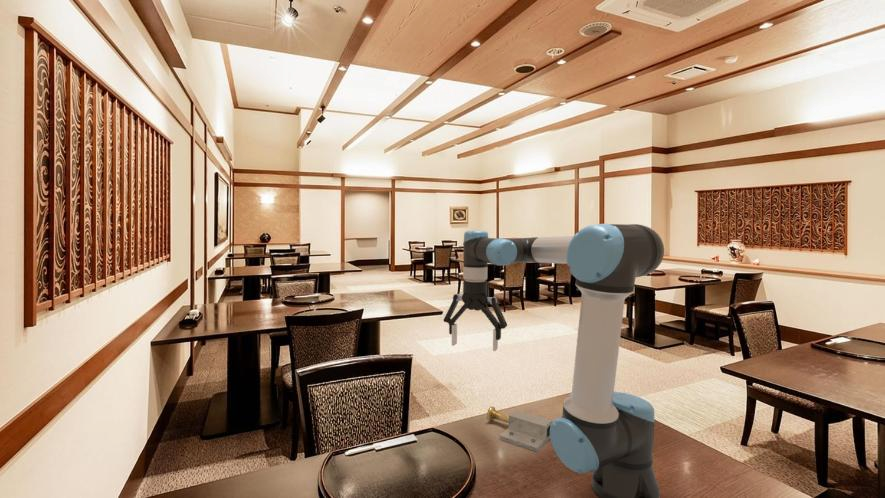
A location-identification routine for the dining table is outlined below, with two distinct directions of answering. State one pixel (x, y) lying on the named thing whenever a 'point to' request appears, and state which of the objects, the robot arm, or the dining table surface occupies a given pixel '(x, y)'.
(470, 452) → the dining table surface
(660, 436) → the dining table surface
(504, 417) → the pin
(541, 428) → the grey mounting bracket
